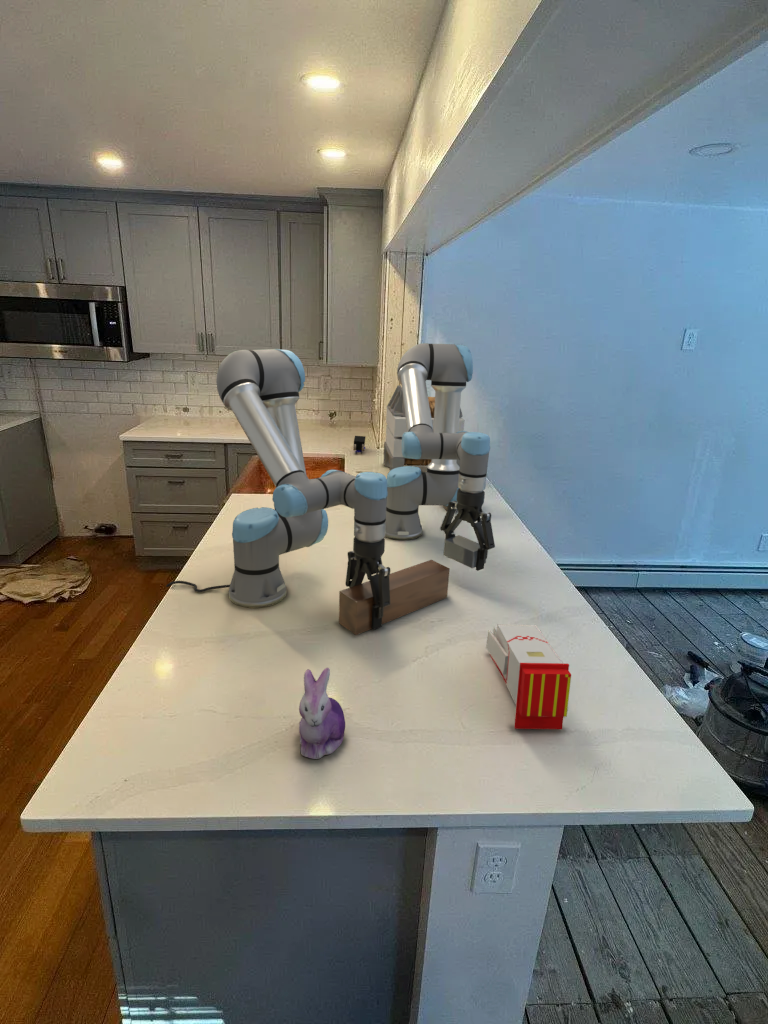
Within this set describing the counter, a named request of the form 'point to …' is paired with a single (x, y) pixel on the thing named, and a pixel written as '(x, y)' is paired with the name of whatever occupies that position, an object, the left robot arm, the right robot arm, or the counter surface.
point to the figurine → (319, 718)
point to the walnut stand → (394, 595)
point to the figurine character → (359, 443)
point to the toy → (531, 675)
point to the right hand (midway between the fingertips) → (464, 562)
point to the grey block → (462, 550)
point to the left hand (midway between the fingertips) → (366, 620)
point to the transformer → (399, 427)
